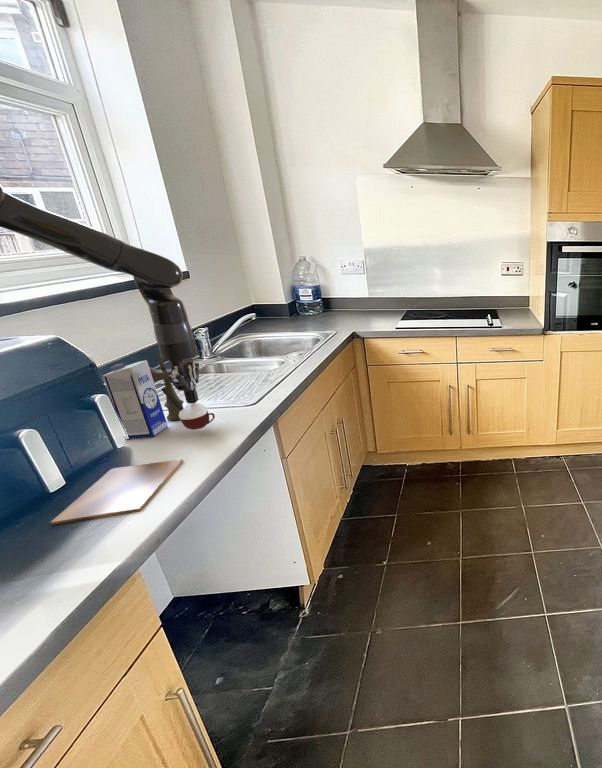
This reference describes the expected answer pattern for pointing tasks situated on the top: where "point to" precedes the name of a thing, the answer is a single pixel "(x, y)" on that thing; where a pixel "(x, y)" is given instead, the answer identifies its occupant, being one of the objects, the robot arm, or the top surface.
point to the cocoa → (191, 413)
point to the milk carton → (136, 399)
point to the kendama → (163, 375)
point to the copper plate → (119, 491)
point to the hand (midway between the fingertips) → (192, 402)
